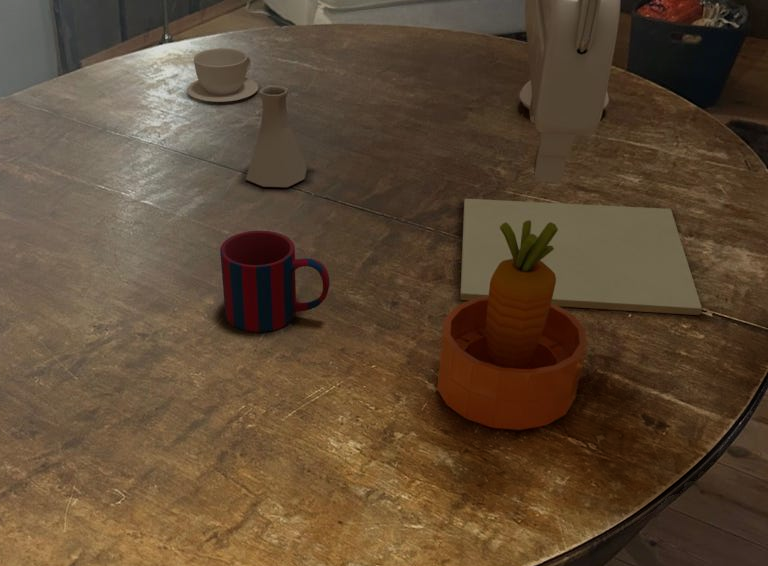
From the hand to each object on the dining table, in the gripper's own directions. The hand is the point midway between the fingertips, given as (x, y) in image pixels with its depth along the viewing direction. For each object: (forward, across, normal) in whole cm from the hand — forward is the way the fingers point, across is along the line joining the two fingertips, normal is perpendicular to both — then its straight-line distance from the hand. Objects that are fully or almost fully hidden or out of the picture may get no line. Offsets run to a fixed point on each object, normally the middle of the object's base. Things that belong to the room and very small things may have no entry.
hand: (543, 148), depth 64 cm
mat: (+21, +24, -7) cm, 33 cm away
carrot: (+21, 0, 0) cm, 21 cm away
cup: (+21, +9, +21) cm, 31 cm away
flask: (+21, +39, +26) cm, 51 cm away
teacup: (+21, +65, +38) cm, 78 cm away
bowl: (+21, 0, 0) cm, 21 cm away
